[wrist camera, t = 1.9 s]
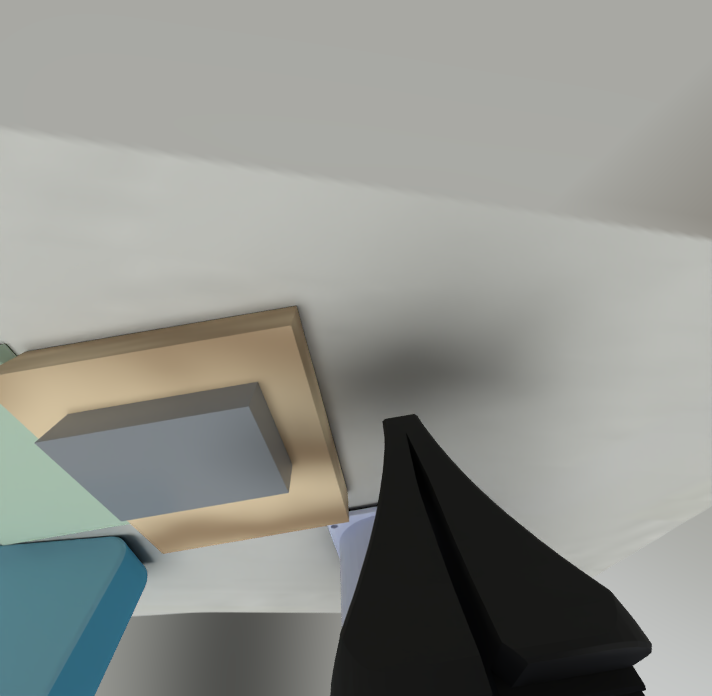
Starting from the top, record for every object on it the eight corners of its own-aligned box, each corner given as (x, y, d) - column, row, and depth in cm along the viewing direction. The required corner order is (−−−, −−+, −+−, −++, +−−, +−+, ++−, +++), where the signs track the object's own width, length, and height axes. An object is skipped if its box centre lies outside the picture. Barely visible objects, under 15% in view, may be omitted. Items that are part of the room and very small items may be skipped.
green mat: (159, 510, 18) (155, 519, 18) (12, 535, 18) (3, 545, 18) (5, 343, 12) (-11, 351, 11) (-227, 383, 12) (-253, 392, 11)
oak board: (347, 491, 19) (349, 521, 17) (177, 520, 19) (163, 553, 17) (296, 305, 12) (290, 325, 10) (25, 351, 12) (-26, 379, 10)
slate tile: (292, 465, 14) (288, 492, 13) (140, 491, 14) (120, 521, 13) (257, 381, 11) (248, 406, 10) (67, 413, 11) (33, 442, 10)
